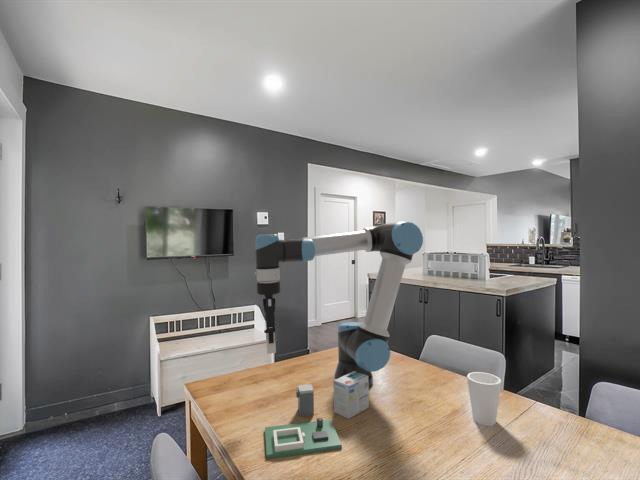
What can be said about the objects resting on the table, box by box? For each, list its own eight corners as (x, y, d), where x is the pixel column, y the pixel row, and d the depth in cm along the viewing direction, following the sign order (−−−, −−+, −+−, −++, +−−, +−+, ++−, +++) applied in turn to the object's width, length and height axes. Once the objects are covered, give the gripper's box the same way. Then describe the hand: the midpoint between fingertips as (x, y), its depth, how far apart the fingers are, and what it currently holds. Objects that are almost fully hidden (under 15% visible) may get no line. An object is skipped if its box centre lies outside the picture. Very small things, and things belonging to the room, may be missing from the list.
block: (311, 407, 113) (311, 384, 113) (313, 414, 108) (313, 390, 108) (295, 409, 112) (295, 385, 112) (297, 416, 107) (297, 391, 107)
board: (330, 422, 103) (330, 412, 103) (341, 448, 91) (341, 437, 91) (264, 430, 99) (264, 420, 99) (266, 458, 87) (266, 447, 87)
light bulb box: (354, 400, 117) (353, 370, 117) (369, 407, 112) (369, 375, 112) (333, 412, 110) (332, 379, 110) (348, 420, 105) (348, 385, 105)
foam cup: (498, 415, 106) (498, 374, 106) (504, 430, 98) (503, 386, 98) (466, 410, 110) (465, 370, 110) (468, 425, 101) (468, 382, 101)
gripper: (256, 277, 122) (259, 336, 122) (256, 287, 97) (259, 360, 97) (277, 276, 123) (279, 334, 123) (282, 286, 98) (285, 358, 99)
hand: (270, 346), depth 110 cm, fingers open, 13 cm apart
